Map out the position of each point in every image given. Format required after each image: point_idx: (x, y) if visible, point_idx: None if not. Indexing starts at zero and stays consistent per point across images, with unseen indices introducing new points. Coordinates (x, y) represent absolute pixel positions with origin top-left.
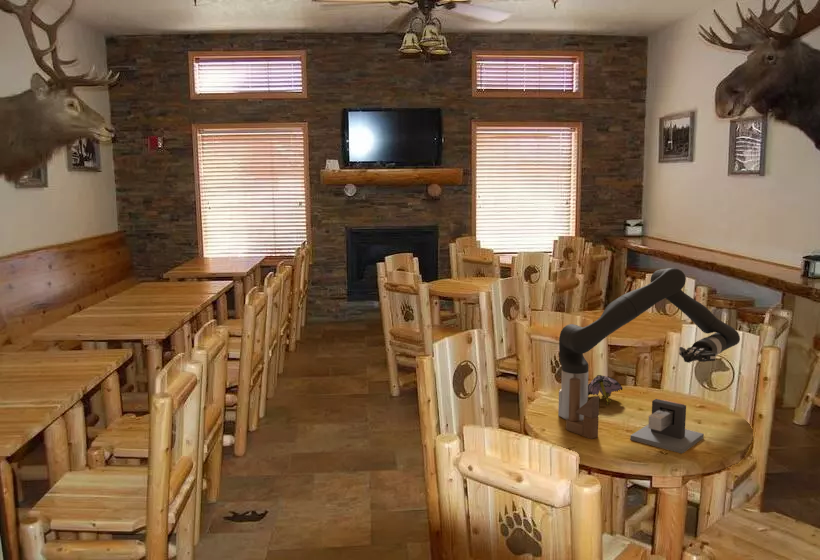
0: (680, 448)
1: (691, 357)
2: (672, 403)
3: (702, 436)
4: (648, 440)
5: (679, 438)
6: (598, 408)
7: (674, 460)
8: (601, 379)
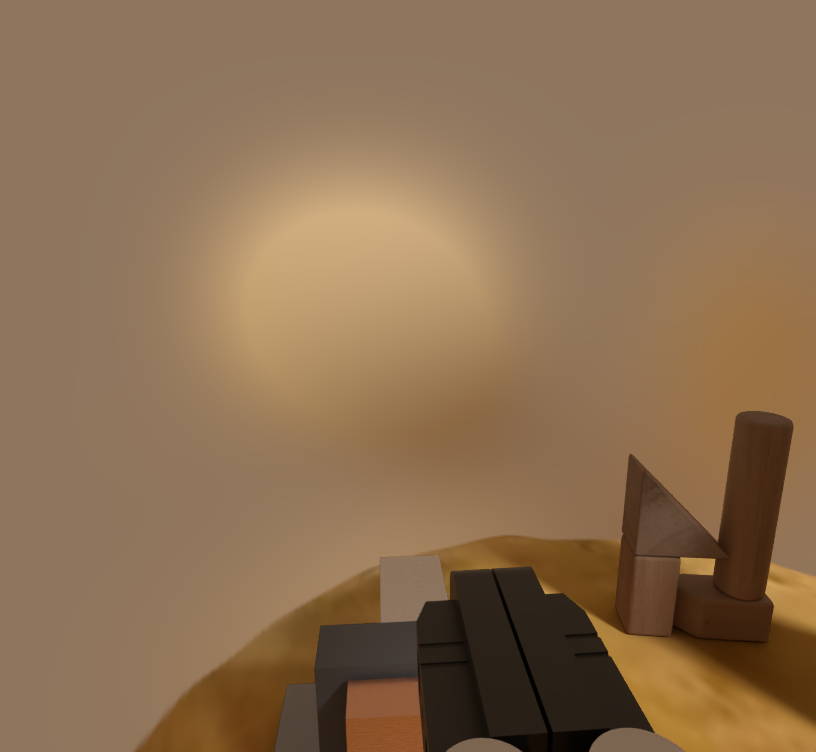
0: (297, 684)
1: (427, 614)
2: (403, 648)
3: None
4: None
5: None
6: (635, 522)
7: (298, 636)
8: None
